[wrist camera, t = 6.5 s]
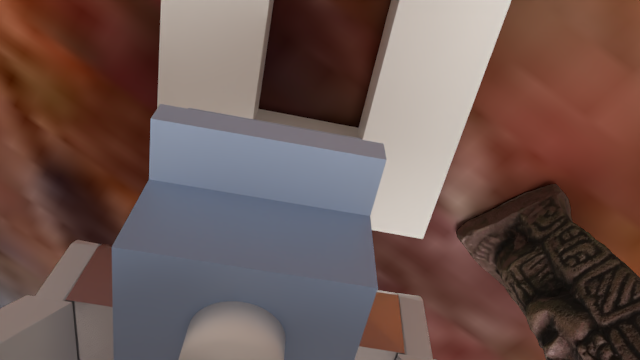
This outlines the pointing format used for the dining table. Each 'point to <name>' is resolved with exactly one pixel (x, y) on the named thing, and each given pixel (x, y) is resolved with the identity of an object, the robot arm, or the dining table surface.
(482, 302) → the dining table surface
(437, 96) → the frame
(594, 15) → the dining table surface
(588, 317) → the statue
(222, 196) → the servo
